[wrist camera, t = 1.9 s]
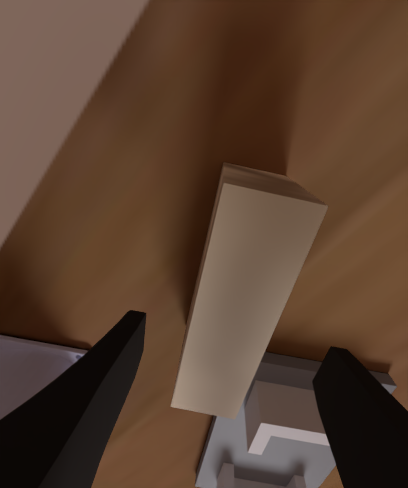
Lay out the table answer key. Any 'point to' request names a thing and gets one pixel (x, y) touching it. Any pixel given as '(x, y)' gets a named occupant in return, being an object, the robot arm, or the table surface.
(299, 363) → the board
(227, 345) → the beige rectangular block
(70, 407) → the robot arm
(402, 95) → the table surface
